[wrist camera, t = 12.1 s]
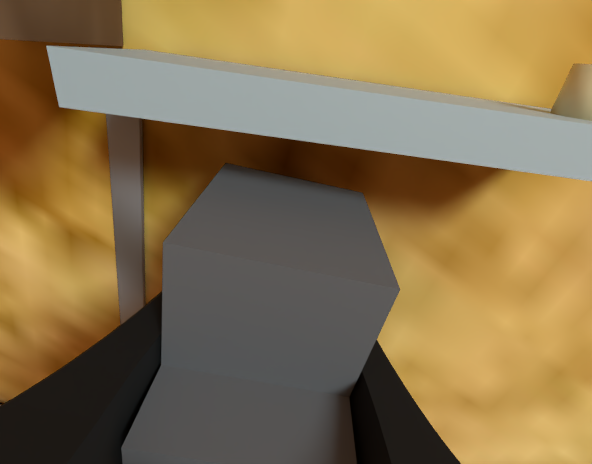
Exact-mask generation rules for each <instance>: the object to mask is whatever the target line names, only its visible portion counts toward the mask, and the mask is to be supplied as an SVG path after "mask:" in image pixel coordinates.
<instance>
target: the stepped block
mask: <svg viewBox="0 0 592 464" xmlns="http://www.w3.org/2000/svg"><path fill="white" fill-rule="evenodd" d="M399 291H400V288H399V285H398V283H397V280H396V277H395V275H394V272H393V270H392V267H391V265H390V262H389V259H388V257H387V254H386V252H385V249H384V246H383V244H382V241H381V239H380V236H379V234H378V231H377V228H376V226H375V223H374V221H373V218H372V215H371V213H370V210H369V208H368V205H367V202H366V200H365V197H364V195H363V193H362V192H357V191H352V190H348V189H343V188H338V187H334V186H329V185H325V184H320V183H315V182H311V181H306V180H302V179H297V178H292V177H288V176H283V175H279V174H274V173H269V172H265V171H260V170H256V169H251V168H246V167H242V166H237V165H233V164H228V163H225V164H224V166H223V167H222V168H221V170H220V171H219V172H218V173H217V175H216V176H215V177H214V178H213V180H212V181H211V182H210V184H209V185H208V186H207V187H206V189H205V190H204V191H203V192H202V194H201V195H200V196H199V197H198V199H197V200H196V201H195V203H194V204H193V205H192V206H191V208H190V209H189V210H188V211H187V213H186V214H185V215H184V216H183V218H182V219H181V220H180V222H179V223H178V224H177V225H176V227H175V228H174V229H173V230H172V232H171V233H170V234H169V235H168V237H167V238H166V239H165V241H164V242H163V278H162V348H161V366H160V369H159V371H158V373H157V375H156V377H155V379H154V381H153V383H152V385H151V387H150V389H149V391H148V393H147V396H146V398H145V400H144V402H143V404H142V406H141V408H140V410H139V412H138V414H137V416H136V418H135V420H134V422H133V425H132V427H131V429H130V431H129V433H128V435H127V437H126V439H125V441H124V443H123V445H122V447H121V451H122V462H123V464H357V460H356V452H355V443H354V434H353V426H352V417H351V408H350V400H349V397H350V395H351V392H352V390H353V388H354V386H355V384H356V382H357V380H358V378H359V375H360V373H361V371H362V369H363V367H364V365H365V363H366V361H367V358H368V356H369V354H370V352H371V350H372V348H373V346H374V344H375V342H376V339H377V337H378V335H379V333H380V331H381V329H382V327H383V325H384V322H385V320H386V318H387V316H388V314H389V312H390V310H391V308H392V305H393V303H394V301H395V299H396V297H397V295H398V293H399Z"/></svg>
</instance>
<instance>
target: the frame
mask: <svg viewBox="0 0 592 464" xmlns="http://www.w3.org/2000/svg"><path fill="white" fill-rule="evenodd" d="M0 39H6V40H24V41H41V42H58V43H76V44H93V45H111V46H123V32H122V7H121V0H0ZM106 120H107V135H108V149H109V163H110V178H111V192H112V207H113V221H114V236H115V250H116V265H117V279H118V294H119V308H120V323H121V324H123V323H124V322H125V321H126V320H128V319H129V318H130V317H131V316H133V315H134V314H135V313H137V312H138V311H139V310H140V309H141V308H143V307H144V306H145V253H144V196H143V140H142V118H135V117H128V116H120V115H113V114H106Z"/></svg>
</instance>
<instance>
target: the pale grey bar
mask: <svg viewBox="0 0 592 464" xmlns="http://www.w3.org/2000/svg"><path fill="white" fill-rule="evenodd" d="M46 47H47V52H48V57H49V61H50V66H51V71H52V75H53V80H54V85H55V90H56V94H57V99H58V104H59V107H63V108H70V109H77V110H85V111H92V112H99V113H106V114H113V115H120V116H128V117H135V118H142V119H149V120H156V121H163V122H171V123H178V124H185V125H192V126H199V127H206V128H214V129H221V130H228V131H235V132H242V133H249V134H257V135H264V136H271V137H278V138H285V139H292V140H300V141H307V142H314V143H321V144H328V145H336V146H343V147H350V148H357V149H364V150H371V151H379V152H386V153H393V154H400V155H407V156H414V157H422V158H429V159H436V160H443V161H450V162H457V163H465V164H472V165H479V166H486V167H493V168H500V169H508V170H515V171H522V172H529V173H536V174H543V175H551V176H558V177H565V178H572V179H579V180H586V181H592V64H573V66H572V68H571V70H570V72H569V74H568V76H567V78H566V81H565V83H564V85H563V87H562V89H561V91H560V93H559V95H558V97H557V99H556V101H555V103H554V105H553V107H552V109H548V108H541V107H534V106H527V105H520V104H513V103H507V102H500V101H493V100H486V99H479V98H472V97H465V96H459V95H452V94H445V93H438V92H431V91H424V90H417V89H410V88H404V87H397V86H390V85H383V84H376V83H369V82H362V81H356V80H349V79H342V78H335V77H328V76H321V75H314V74H307V73H301V72H294V71H287V70H280V69H273V68H266V67H259V66H253V65H246V64H239V63H232V62H225V61H218V60H211V59H204V58H198V57H191V56H184V55H177V54H170V53H163V52H156V51H150V50H137V49H113V48H90V47H67V46H46Z"/></svg>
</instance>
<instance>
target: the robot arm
mask: <svg viewBox="0 0 592 464" xmlns="http://www.w3.org/2000/svg"><path fill="white" fill-rule="evenodd" d="M161 348H162V292H160V293H159V294H158V295H157V296H156V297H155V298H153V299H152V300H151V301H150V302H149V303H147V304H146V305H145V306H144V307H143V308H141V309H140V310H139V311H138V312H137V313H135V314H134V315H133V316H131V317H130V318H129V319H128V320H126V321H125V322H124V323H123V324H121V325H120V326H119V327H117V328H116V329H115V330H114V331H112V332H111V333H110V334H108V335H107V336H106V337H104V338H103V339H102V340H100V341H99V342H97V343H96V344H95V345H93V346H92V347H90V348H89V349H88V350H86V351H85V352H83V353H82V354H81V355H79V356H78V357H76V358H75V359H74V360H72V361H71V362H69V363H68V364H66V365H65V366H63V367H62V368H60V369H59V370H57V371H56V372H54V373H53V374H51V375H50V376H48V377H47V378H45V379H43V380H42V381H40V382H39V383H37V384H35V385H34V386H32V387H31V388H29V389H28V390H26V391H24V392H23V393H21V394H19V395H18V396H16V397H15V398H13V399H11V400H9V401H8V402H6V403H4V404H3V405H0V464H123V462H122V451H121V447H122V445H123V443H124V441H125V439H126V437H127V435H128V433H129V431H130V429H131V427H132V425H133V422H134V420H135V418H136V416H137V414H138V412H139V410H140V408H141V406H142V404H143V402H144V400H145V398H146V396H147V393H148V391H149V389H150V387H151V385H152V383H153V381H154V379H155V377H156V375H157V373H158V371H159V369H160V366H161ZM349 400H350V408H351V417H352V426H353V434H354V443H355V452H356V460H357V464H461V463H460V462H459V461H458V460H457V458H456V457H455V456H454V454H453V453H452V452H451V451H450V449H449V448H448V447H447V446H446V444H445V443H444V442H443V440H442V439H441V438H440V436H439V435H438V434H437V432H436V431H435V430H434V428H433V427H432V425H431V424H430V423H429V421H428V420H427V418H426V417H425V415H424V414H423V413H422V411H421V410H420V408H419V407H418V405H417V404H416V402H415V401H414V399H413V398H412V396H411V395H410V393H409V392H408V390H407V389H406V387H405V386H404V384H403V382H402V381H401V379H400V378H399V376H398V375H397V373H396V371H395V370H394V368H393V367H392V365H391V363H390V362H389V360H388V358H387V357H386V355H385V353H384V352H383V350H382V348H381V346H380V345H379V343H378V341H377V340H376V342H375V344H374V346H373V348H372V350H371V352H370V354H369V356H368V358H367V361H366V363H365V365H364V367H363V369H362V371H361V373H360V375H359V378H358V380H357V382H356V384H355V386H354V388H353V390H352V392H351V395H350V397H349Z"/></svg>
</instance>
